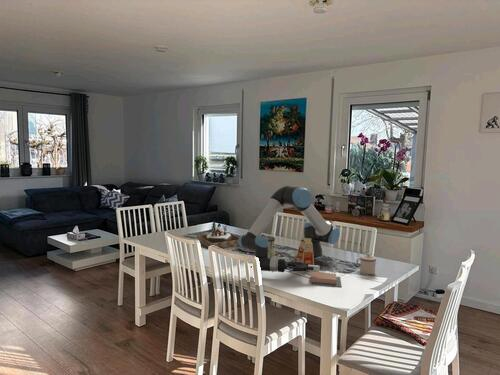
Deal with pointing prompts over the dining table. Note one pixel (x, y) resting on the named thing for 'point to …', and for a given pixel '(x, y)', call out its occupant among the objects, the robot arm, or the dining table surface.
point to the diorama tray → (220, 244)
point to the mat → (329, 284)
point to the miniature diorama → (218, 234)
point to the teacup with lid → (367, 264)
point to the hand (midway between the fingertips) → (319, 268)
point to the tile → (323, 278)
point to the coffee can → (271, 246)
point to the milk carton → (305, 252)
